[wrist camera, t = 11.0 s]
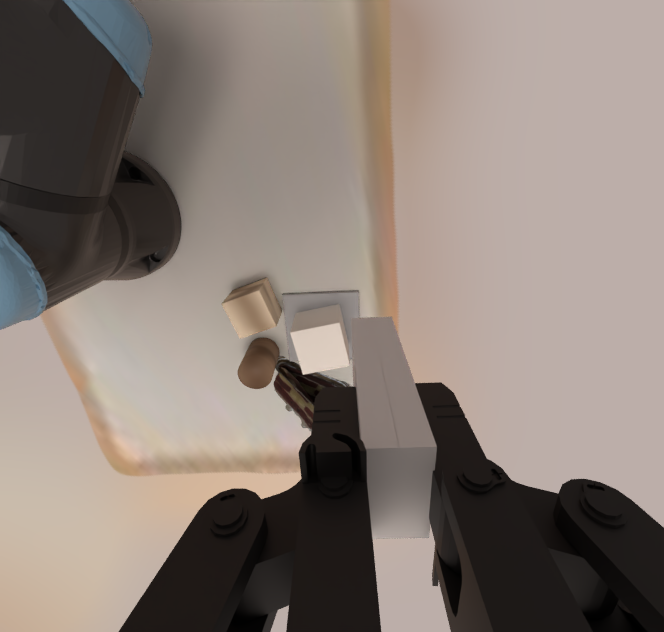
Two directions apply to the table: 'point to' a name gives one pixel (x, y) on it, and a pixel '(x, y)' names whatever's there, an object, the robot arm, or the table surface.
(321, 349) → the plain block
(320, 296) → the mat
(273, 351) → the walnut cylinder
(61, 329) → the table surface
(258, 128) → the table surface
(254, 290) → the beech cube
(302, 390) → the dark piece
